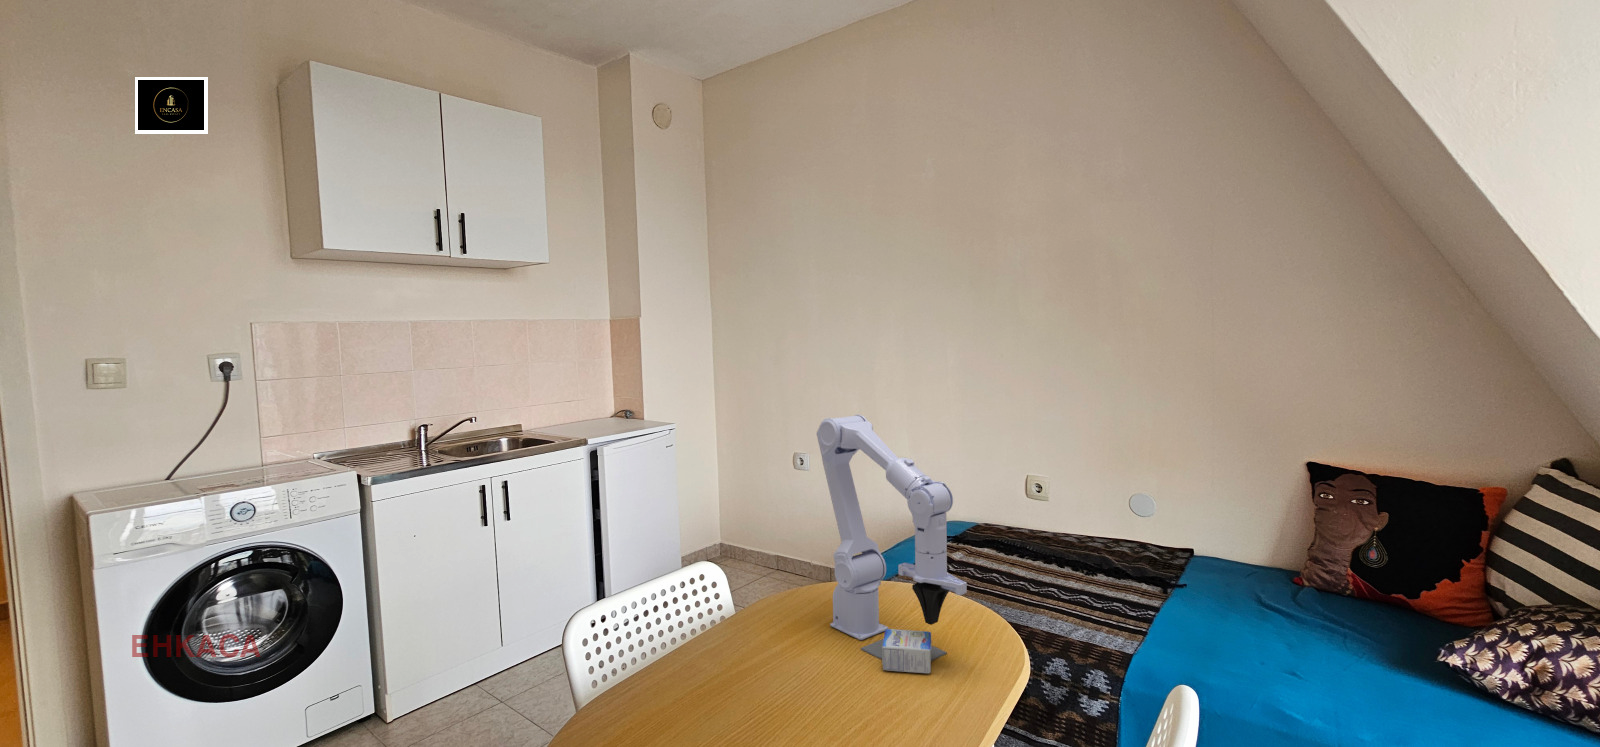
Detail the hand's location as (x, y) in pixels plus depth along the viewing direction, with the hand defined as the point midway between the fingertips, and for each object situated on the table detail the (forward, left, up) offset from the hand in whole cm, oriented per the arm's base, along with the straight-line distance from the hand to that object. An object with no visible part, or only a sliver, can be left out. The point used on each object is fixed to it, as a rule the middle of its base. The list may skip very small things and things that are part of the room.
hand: (931, 622), depth 125 cm
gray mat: (-6, -1, -7) cm, 10 cm away
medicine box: (+1, -1, -5) cm, 5 cm away
